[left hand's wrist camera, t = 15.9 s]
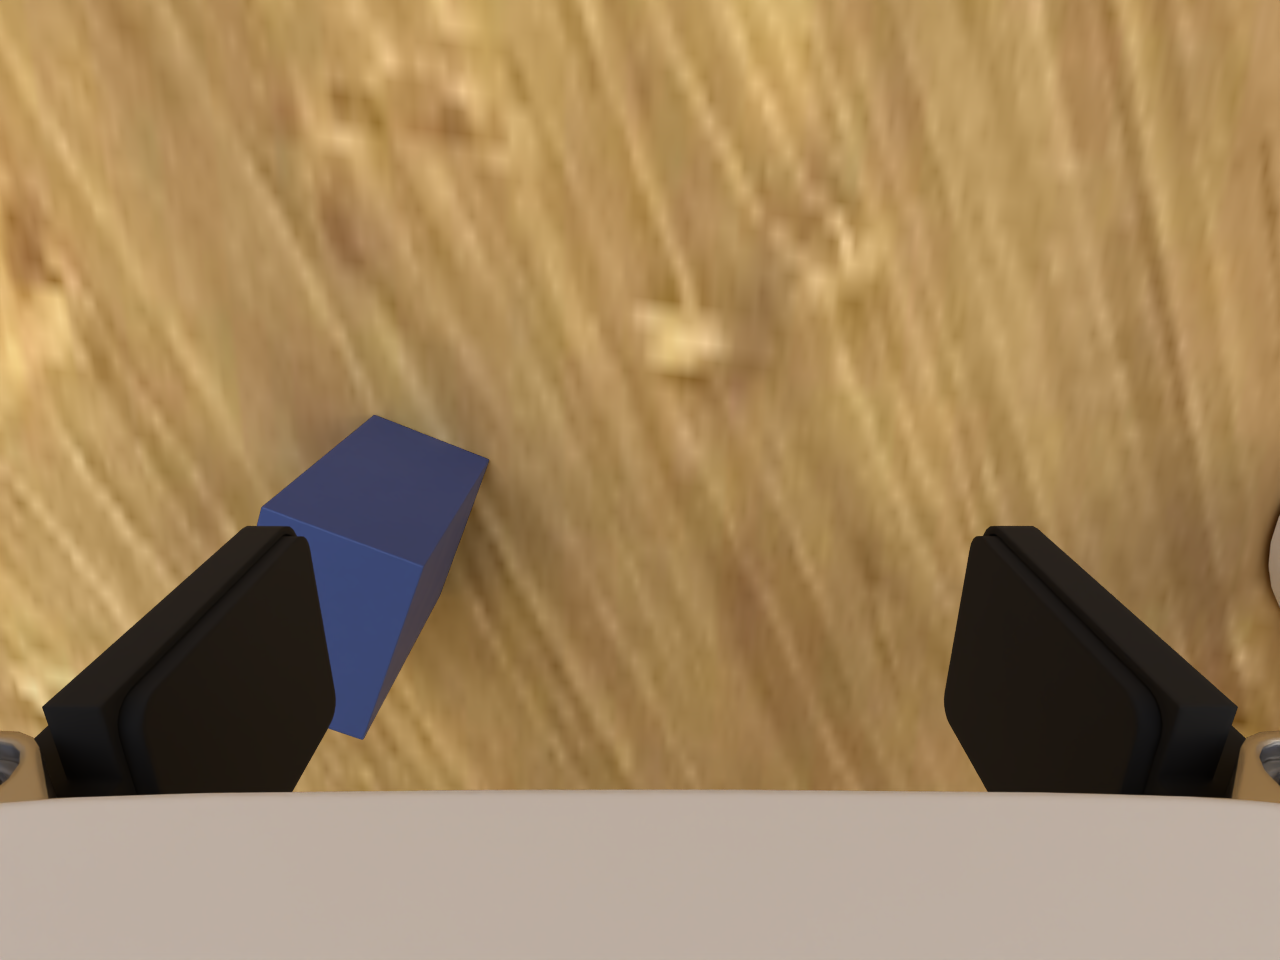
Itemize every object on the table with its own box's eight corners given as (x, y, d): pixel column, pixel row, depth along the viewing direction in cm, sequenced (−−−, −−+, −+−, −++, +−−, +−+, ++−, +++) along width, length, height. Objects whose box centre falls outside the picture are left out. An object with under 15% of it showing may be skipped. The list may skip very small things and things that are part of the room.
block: (489, 459, 34) (423, 566, 25) (439, 595, 37) (362, 740, 27) (373, 414, 33) (260, 506, 24) (331, 556, 36) (214, 690, 26)
